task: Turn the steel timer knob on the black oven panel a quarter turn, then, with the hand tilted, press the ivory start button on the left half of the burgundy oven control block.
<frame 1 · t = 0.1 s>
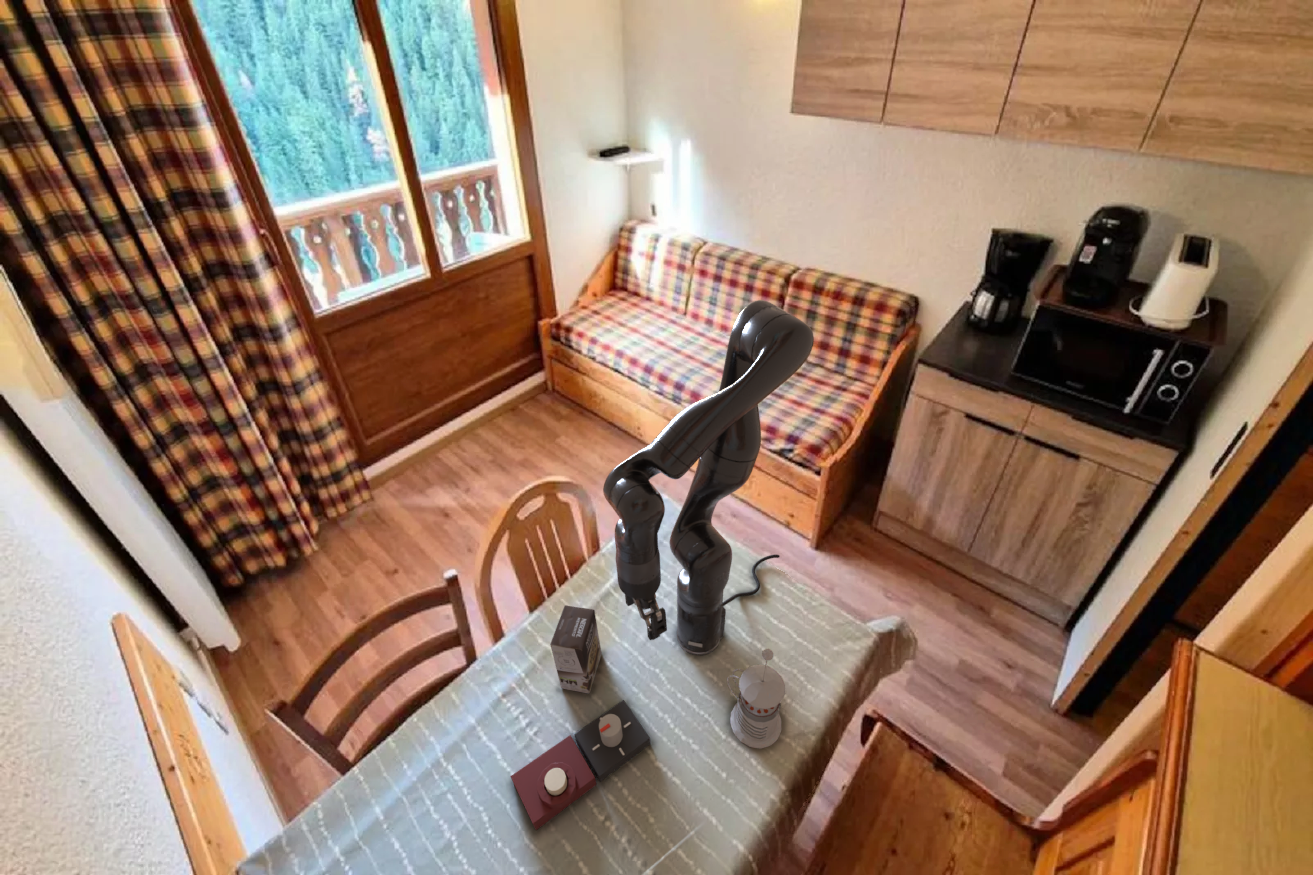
hand: (642, 619, 108), 17 cm above the table, tool pointing down, fingers open, 8 cm apart
oven control: (555, 784, 102), on the table
start button: (555, 781, 97), point 6 cm above the table, slide at 0.1 cm
coffee box: (582, 670, 119), on the table
french press: (751, 718, 110), on the table
timer knob: (610, 730, 104), point 5 cm above the table, hinge at 0.0°
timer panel: (612, 742, 108), on the table
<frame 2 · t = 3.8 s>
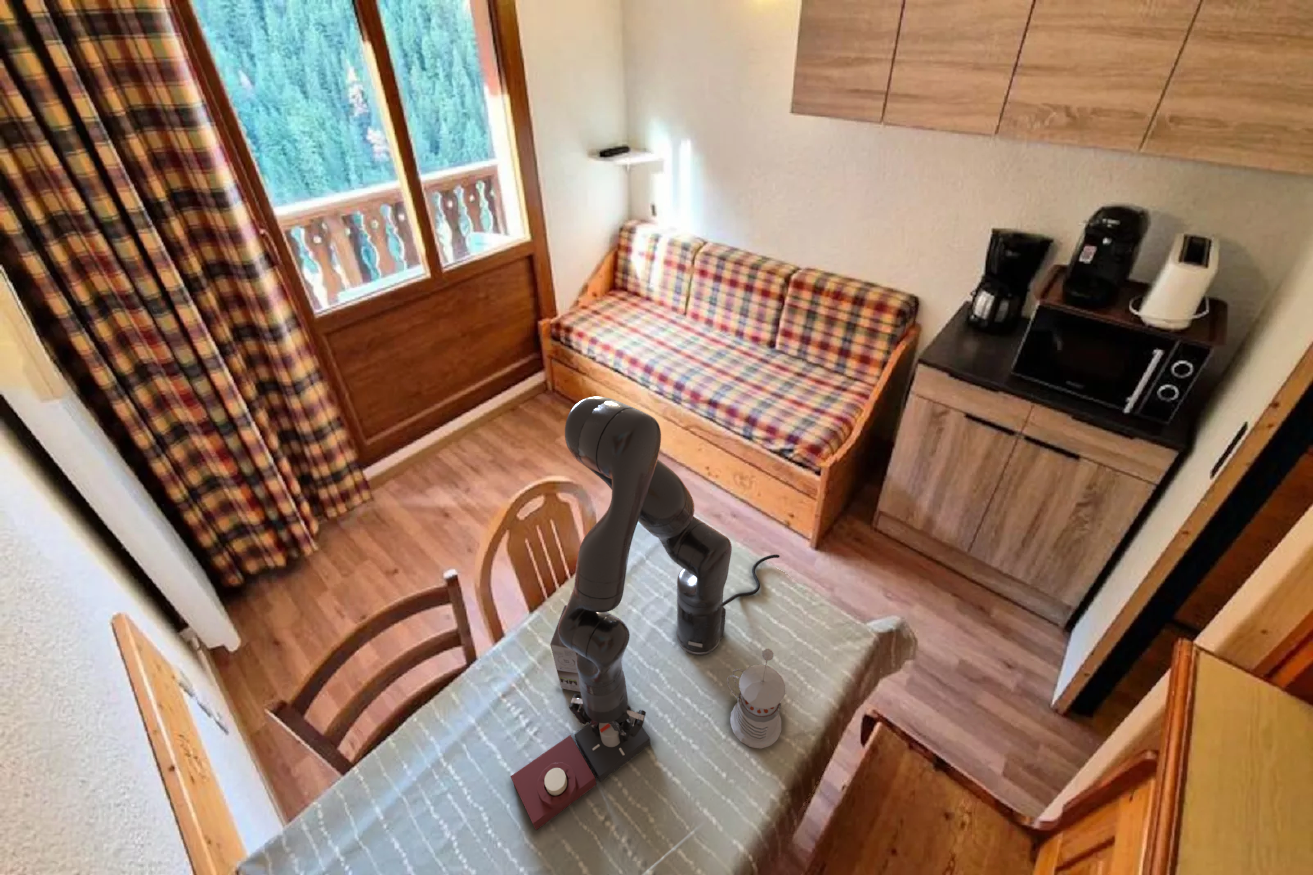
hand: (611, 734, 106), 3 cm above the table, tool pointing down, fingers closed on timer knob, 4 cm apart
timer knob: (610, 730, 104), point 5 cm above the table, hinge at 0.3°, touching gripper
everything else where it was.
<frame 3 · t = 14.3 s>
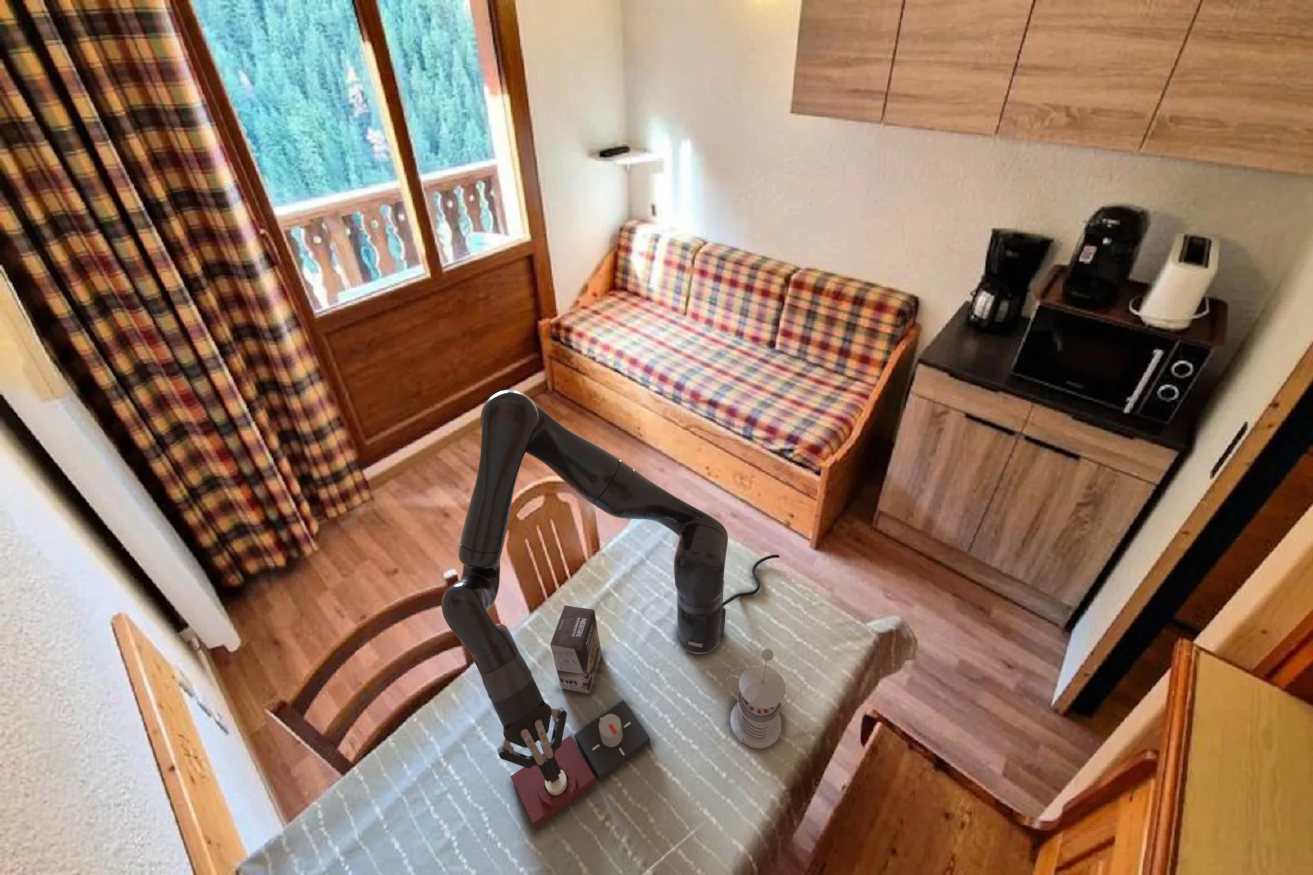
hand: (554, 779, 97), 7 cm above the table, tool tilted 45°, fingers closed
start button: (556, 782, 98), point 5 cm above the table, slide at -0.3 cm, touching gripper
timer knob: (610, 730, 104), point 5 cm above the table, hinge at 92.5°
everything else where it was.
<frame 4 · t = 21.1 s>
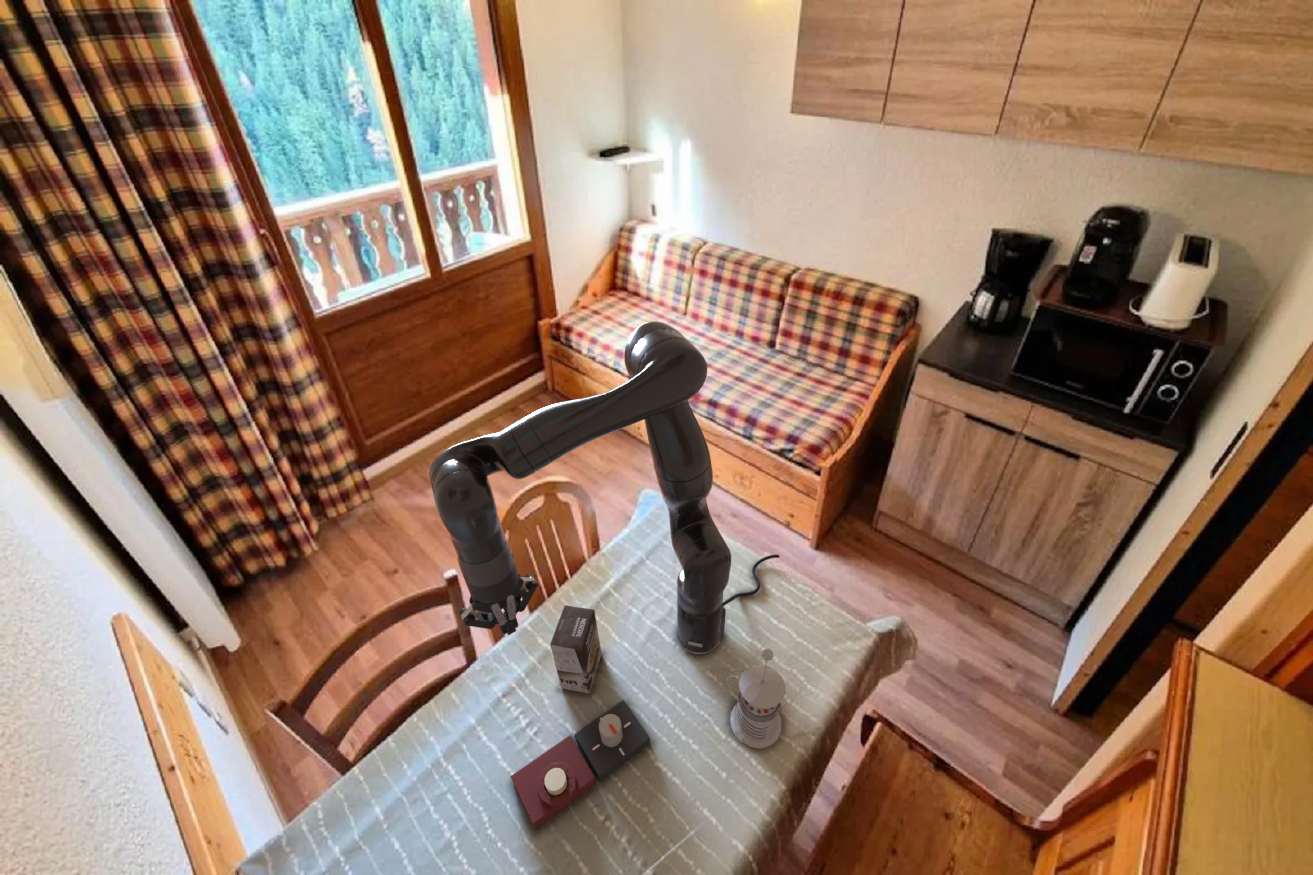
hand: (509, 629, 96), 27 cm above the table, tool pointing down, fingers closed
start button: (555, 781, 97), point 6 cm above the table, slide at 0.1 cm
everything else where it was.
at the end: timer knob at +92° (first picture: +0°); start button pushed in 1.3 cm at the most during the clip, back to where it started at the end; start button slide at 0.1 cm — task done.
